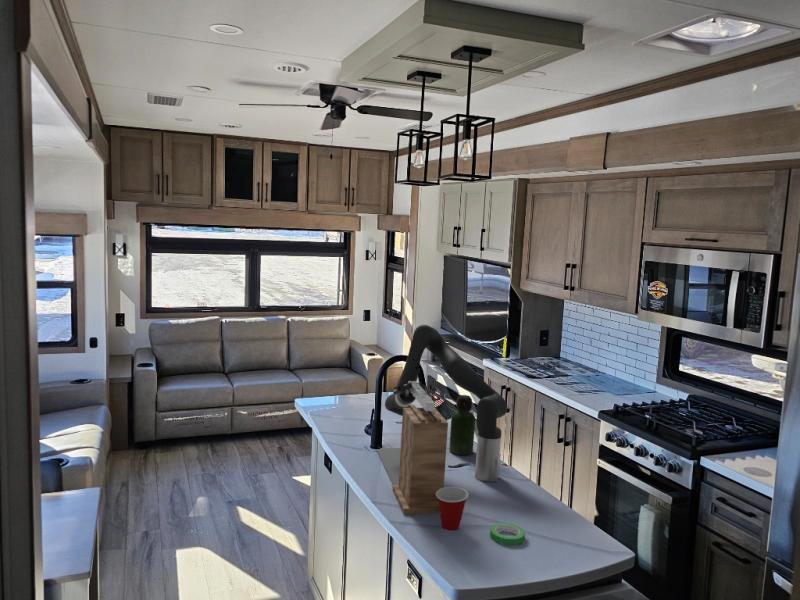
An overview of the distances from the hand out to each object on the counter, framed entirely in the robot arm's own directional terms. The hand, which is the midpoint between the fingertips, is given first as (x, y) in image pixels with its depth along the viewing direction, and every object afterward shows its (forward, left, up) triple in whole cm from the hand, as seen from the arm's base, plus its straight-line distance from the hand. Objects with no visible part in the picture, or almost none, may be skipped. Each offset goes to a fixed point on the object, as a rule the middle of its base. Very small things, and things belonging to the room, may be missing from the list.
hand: (415, 384), depth 250 cm
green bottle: (-10, -43, -39) cm, 59 cm away
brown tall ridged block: (-8, +14, -39) cm, 42 cm away
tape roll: (-42, +28, -39) cm, 64 cm away
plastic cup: (-23, +29, -39) cm, 54 cm away
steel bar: (-4, +7, -3) cm, 9 cm away
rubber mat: (+8, -14, -39) cm, 42 cm away
